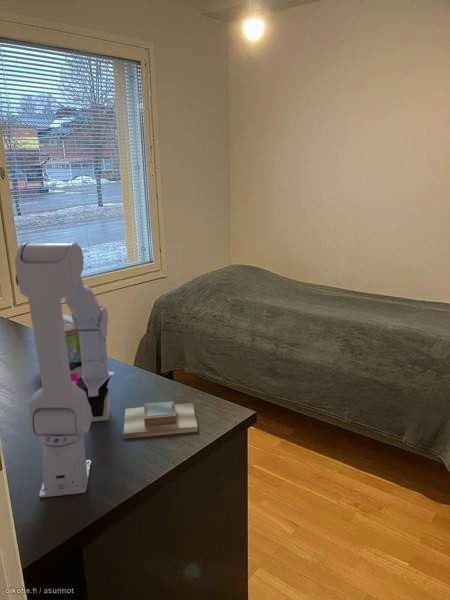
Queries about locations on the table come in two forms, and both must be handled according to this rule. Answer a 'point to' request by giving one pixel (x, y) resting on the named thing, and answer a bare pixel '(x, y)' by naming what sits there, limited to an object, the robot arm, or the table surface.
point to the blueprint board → (143, 431)
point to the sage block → (105, 412)
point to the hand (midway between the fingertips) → (99, 410)
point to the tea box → (73, 346)
